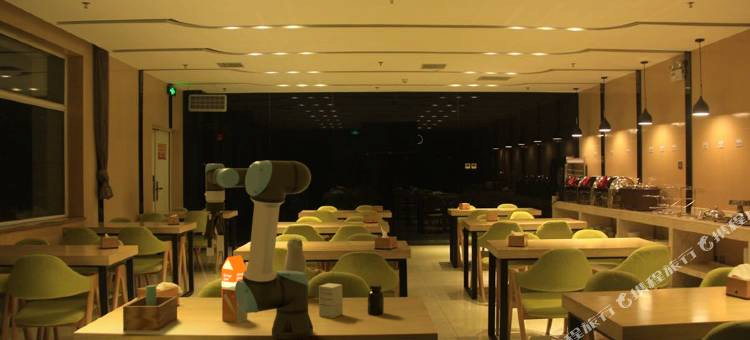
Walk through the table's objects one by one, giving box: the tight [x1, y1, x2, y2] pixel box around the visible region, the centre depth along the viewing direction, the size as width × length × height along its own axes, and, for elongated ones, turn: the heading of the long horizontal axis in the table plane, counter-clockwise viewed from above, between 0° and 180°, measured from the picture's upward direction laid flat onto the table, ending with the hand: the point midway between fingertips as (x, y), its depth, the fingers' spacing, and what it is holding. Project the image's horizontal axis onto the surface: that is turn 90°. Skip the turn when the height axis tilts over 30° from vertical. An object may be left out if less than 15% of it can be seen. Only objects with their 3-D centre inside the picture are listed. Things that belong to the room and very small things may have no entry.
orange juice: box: [221, 254, 247, 290], centre depth 275 cm, size 8×9×20 cm
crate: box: [122, 295, 178, 331], centre depth 229 cm, size 14×18×9 cm
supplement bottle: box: [367, 283, 385, 316], centre depth 244 cm, size 7×7×12 cm
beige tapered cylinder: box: [283, 237, 307, 275], centre depth 278 cm, size 10×10×28 cm
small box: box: [221, 286, 248, 324], centre depth 235 cm, size 8×6×13 cm
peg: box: [145, 284, 157, 306], centre depth 229 cm, size 4×4×14 cm
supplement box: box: [318, 282, 344, 319], centre depth 241 cm, size 7×7×13 cm
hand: (215, 253), depth 237 cm, fingers open, 13 cm apart
